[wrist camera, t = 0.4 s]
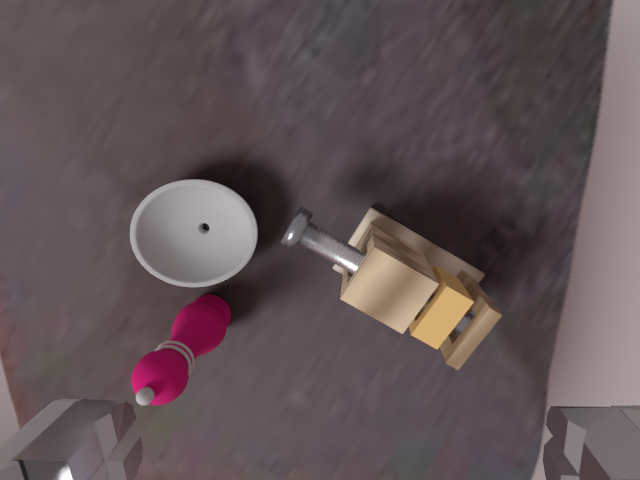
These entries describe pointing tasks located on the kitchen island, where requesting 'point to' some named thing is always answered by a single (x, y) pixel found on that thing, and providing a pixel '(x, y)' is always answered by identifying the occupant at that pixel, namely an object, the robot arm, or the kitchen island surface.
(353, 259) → the shaft
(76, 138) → the kitchen island surface
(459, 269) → the bracket
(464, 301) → the block
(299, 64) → the kitchen island surface
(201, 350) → the pepper mill
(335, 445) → the kitchen island surface
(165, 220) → the dish
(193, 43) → the kitchen island surface
